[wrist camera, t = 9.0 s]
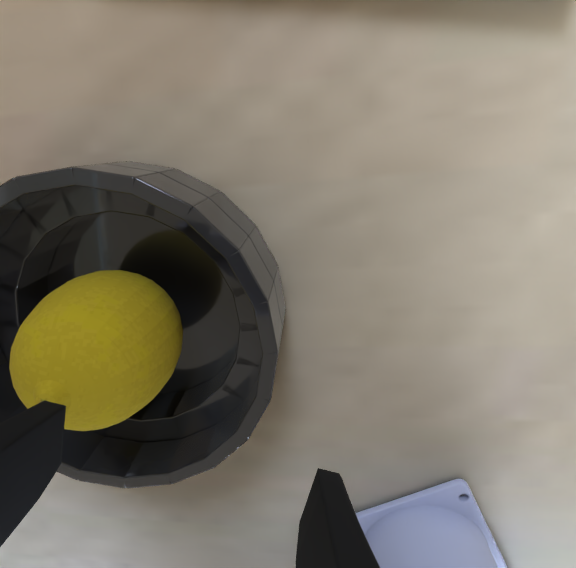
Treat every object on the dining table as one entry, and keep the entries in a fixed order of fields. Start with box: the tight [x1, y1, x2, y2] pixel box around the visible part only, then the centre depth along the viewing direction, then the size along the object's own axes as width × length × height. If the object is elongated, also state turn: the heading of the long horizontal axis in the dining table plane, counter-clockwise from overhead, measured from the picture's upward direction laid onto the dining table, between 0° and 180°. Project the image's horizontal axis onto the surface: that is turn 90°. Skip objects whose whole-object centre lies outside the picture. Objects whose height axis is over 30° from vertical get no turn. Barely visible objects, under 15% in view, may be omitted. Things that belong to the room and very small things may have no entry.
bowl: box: [0, 161, 286, 488], centre depth 18 cm, size 13×13×5 cm
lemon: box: [9, 270, 183, 431], centre depth 16 cm, size 6×6×8 cm
